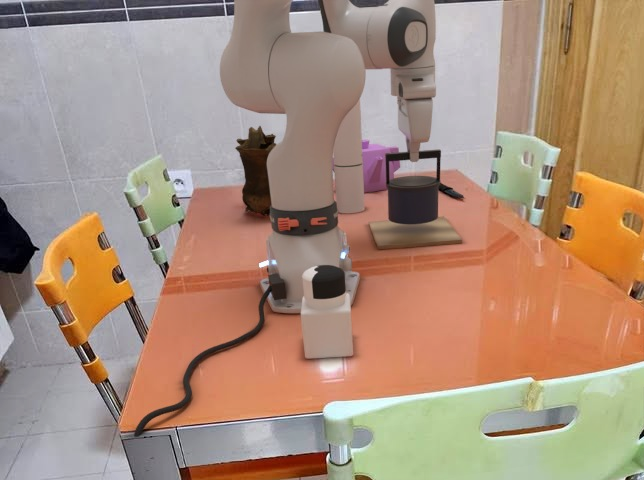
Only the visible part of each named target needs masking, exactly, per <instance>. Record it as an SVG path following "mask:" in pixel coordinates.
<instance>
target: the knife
mask: <svg viewBox="0 0 644 480" xmlns="http://www.w3.org/2000/svg"><path fill="white" fill-rule="evenodd" d="M438 190H440V191H441V192H442V193H444V194H449V195H450V196H452V197H455V198H459V199H466V198H467V197H464V194H461V193H460V192H458V191H456V190H454V188H453V187H451V186H448V185H446V184H444V183H442V182H440V185H439V189H438Z"/></svg>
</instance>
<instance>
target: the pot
mask: <svg viewBox="0 0 644 480" xmlns="http://www.w3.org/2000/svg"><path fill="white" fill-rule="evenodd" d="M441 158H442V150H441V149H440V148H439V149H425V150H424V149H423V150H419V160H426V159H436V176H431V175H430V176H428V175H407V176H406V175H405V176H398V177H394V178H393V179H389V161H400V162H401V161H410V159H409V152H407V151H399V152H396V153H385V161H386V187H387V188H388V189H387V215H388V216H387V217H388V219H387V220H390V221H391V222H394V223H398V224H423V223H428V222H432V221H434V220H436V219H437V218H438V217H439V190H440V189H439V185H440V182H441ZM441 183H442V182H441Z"/></svg>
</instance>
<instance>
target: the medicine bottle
mask: <svg viewBox="0 0 644 480" xmlns="http://www.w3.org/2000/svg"><path fill="white" fill-rule="evenodd" d="M302 279H303V289H304V296H303V298H302V306H301V313H300V323H301V331H302V332H301V333H302V341H303V351H304V357H305V359H307V360H309V359H310V360H311V359H323V358H324V359H326V358H327V359H328V358H329V359H330V358H344V357H345V358H346V357H353V356H354V343H353V341H354V339H353V323H352V309H351V307H352V305H350V295H349V294H348V293H346V286H345V272H344V271H343V270H342V269H341V268H339V267H336V266H332V265H319V266H314V267H312V268H310V269H308V270H306V271H305V272H304V273H303V275H302Z"/></svg>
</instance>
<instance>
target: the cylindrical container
mask: <svg viewBox="0 0 644 480" xmlns="http://www.w3.org/2000/svg"><path fill="white" fill-rule="evenodd" d="M361 111H362V110H361V98H360V99H359V101H358V102H357V104H356V105H355V106H354V107H353V108H352V109H351V110H350V111H349V112H348V114H347V115H346V116H345V118H344V120H343V121H342V123H341V125H340V128H339V130H338V133H337V136H336V139H335V144H334V149H333V158H334V171H333V174H334V188H335V201H336V203H337V209H338V213H341V214H356V213H361V212H364V211H365V210H366V209H365V193H364V182H363V159H362V140H363V136H362V115H361Z"/></svg>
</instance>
